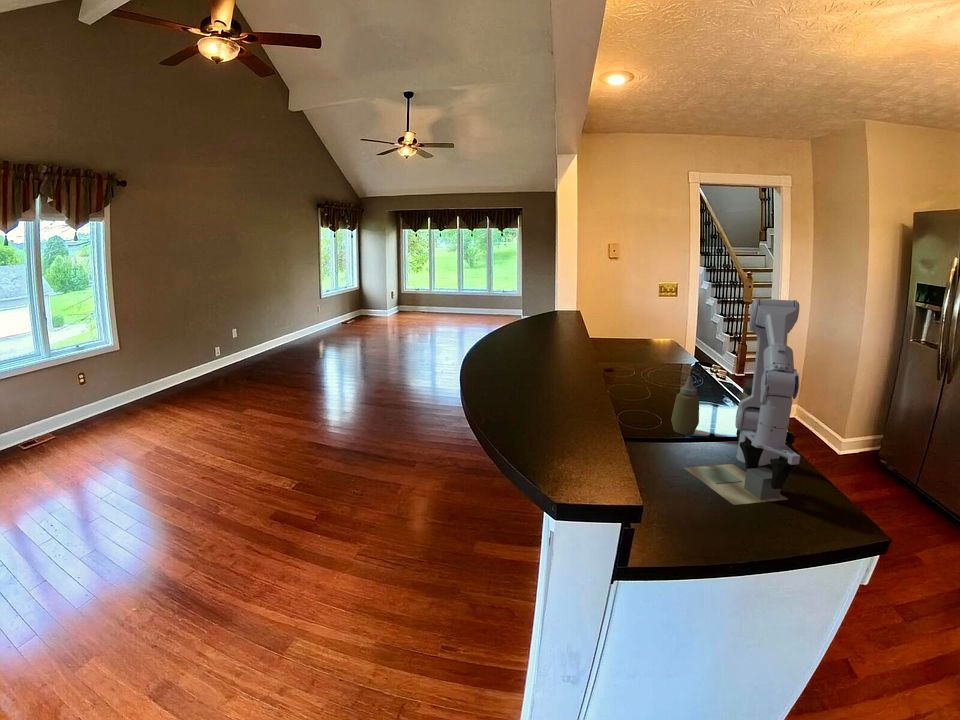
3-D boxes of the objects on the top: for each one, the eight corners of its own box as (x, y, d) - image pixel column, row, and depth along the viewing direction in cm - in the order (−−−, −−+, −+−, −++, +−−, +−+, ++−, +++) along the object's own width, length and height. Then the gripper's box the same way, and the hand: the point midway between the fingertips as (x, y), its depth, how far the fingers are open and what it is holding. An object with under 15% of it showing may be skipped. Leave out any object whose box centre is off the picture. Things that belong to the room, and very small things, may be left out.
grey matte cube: (762, 486, 111) (765, 467, 110) (779, 497, 106) (782, 477, 105) (743, 488, 110) (746, 468, 109) (760, 499, 105) (763, 479, 104)
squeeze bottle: (665, 427, 152) (671, 373, 147) (689, 426, 152) (695, 373, 148) (677, 437, 144) (684, 380, 140) (702, 436, 144) (710, 380, 140)
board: (731, 469, 123) (734, 449, 122) (787, 505, 106) (791, 483, 105) (683, 473, 121) (686, 453, 119) (732, 510, 103) (736, 488, 102)
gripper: (733, 413, 110) (726, 467, 114) (783, 437, 97) (773, 497, 100) (760, 412, 112) (751, 465, 115) (812, 435, 98) (801, 494, 101)
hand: (763, 480), depth 107 cm, fingers open, 7 cm apart
